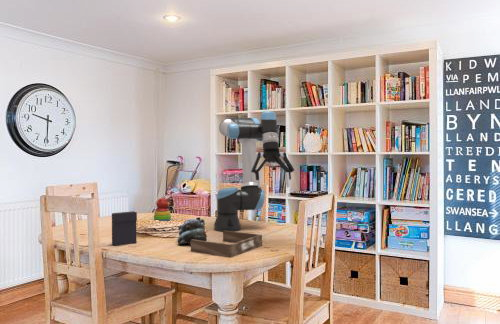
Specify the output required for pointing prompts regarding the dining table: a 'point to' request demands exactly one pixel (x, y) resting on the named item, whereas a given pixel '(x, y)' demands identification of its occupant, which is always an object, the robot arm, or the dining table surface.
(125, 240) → the upright charcoal panel
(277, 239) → the dining table surface
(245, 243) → the labelled bay
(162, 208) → the stacking bear
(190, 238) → the dark grey rounded lump
